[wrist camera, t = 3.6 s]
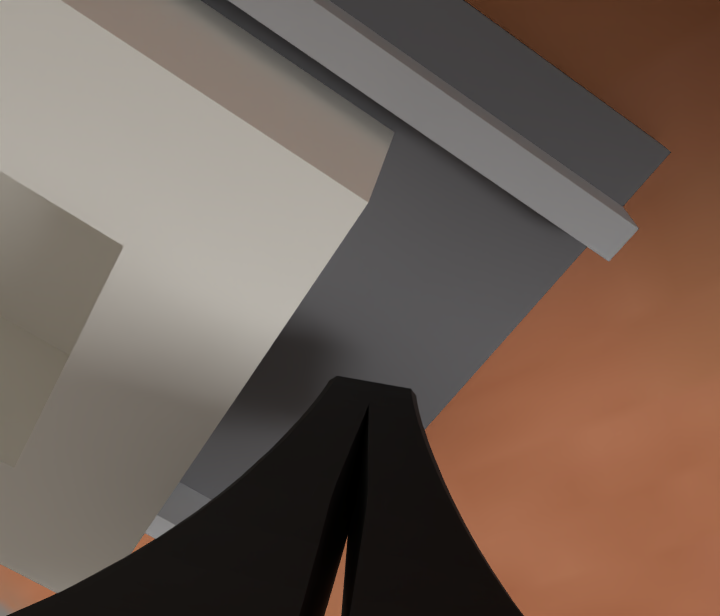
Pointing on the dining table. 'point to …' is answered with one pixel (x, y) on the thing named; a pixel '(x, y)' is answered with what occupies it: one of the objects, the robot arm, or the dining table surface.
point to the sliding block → (147, 253)
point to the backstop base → (429, 211)
